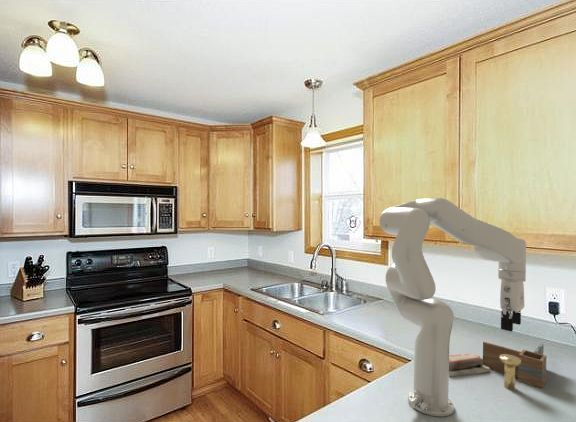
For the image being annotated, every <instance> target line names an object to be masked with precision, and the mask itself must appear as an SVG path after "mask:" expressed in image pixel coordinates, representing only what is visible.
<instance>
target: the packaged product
mask: <svg viewBox="0 0 576 422" xmlns="http://www.w3.org/2000/svg"><path fill="white" fill-rule="evenodd" d="M490 371H491V368H489V367H486V366H484V365H483V357H481V356H480V355H478V354H475V353H470V352H469V353H468V352H467V353H457V354H449V378H450V377H451V378H452V377H457V376H458V377H459V376H468V375H474V374H476V375H477V374H482V373H488V372H490Z"/></svg>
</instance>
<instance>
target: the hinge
mask: <svg viewBox="0 0 576 422" xmlns="http://www.w3.org/2000/svg"><path fill="white" fill-rule="evenodd" d="M501 354H508V355H513V356H516V357H518V358H520V359H521V365H520V366H515V378H517V380H518V382H520V383H521V382H522V383H524V384H528V385H529V386H533V387H537V388H539V389H543V388H544V386H545V384H546V383H547V358H548V357H547V355H545V354H544V343H540V344H539V345H538V347H537V348H536V349H535V350H534V351H529V350H526V349H523V350H521V351H520V350H516V349H513V348H508V347H505V346H501V345H498V344H494V343H490V342H487V341H483V342H482V359H483V365H484V366H486V367H489V368H490V370H495V371H498V372H500V373H503V374H504V370H505V363H503V362H501V361H500V360H499V356H500V355H501Z"/></svg>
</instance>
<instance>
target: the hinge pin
mask: <svg viewBox="0 0 576 422" xmlns="http://www.w3.org/2000/svg"><path fill="white" fill-rule="evenodd" d="M499 360H500V361H501V362H503V363H505V370H504V373H503V375H504V377H503V378H504V379H503V382H504V384H503V387H504V388H505V389H507V390H510V391H514V390H516V376H515V366H520V365H521V359H520V358H518V357H516V356H513V355H508V354H501V355H500V356H499Z"/></svg>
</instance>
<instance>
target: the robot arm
mask: <svg viewBox="0 0 576 422" xmlns="http://www.w3.org/2000/svg"><path fill="white" fill-rule="evenodd" d="M378 221H379V227H380V228H381V230H382V231H383V232H384V233H385V234H387V235H391V236H396V237H395V239H394V243H393V245H392V248H391V259H392V262H393V264H392V265H391V266H389V267H388V269H387V270H386V273H385V285H386V288H387V290H388V292H389V295H390V297H391V299H392V301H393V303H394V305H395V307H396V310H397V311H398V313H399V315H400V316H401V317H402V318H403V319H404V320H406V321H408V322H410V323H412V324H415V325H416V326H418V327H420V328H419V329H420V330H419V331H418V334H417V335H416V337H415V340H414V354H413V355H414V360H413V361H414V363H413V365H414V366H413V390H412V391H409V393H408V395H407V396H408V397H407V400H408V405H409V407H410V408H412V409H415V410H417V411H418V412H420V413H423V414H425V415H427V416H434V417H441V418H442V417H448V416H450V415H452V414H453V413H454V411H455V406H454V403H453V401H452V400H451V399H450V398H449V379H450V377H449V355H450V341H451V334H452V330H453V326H454V320H455V314H454V311H453V310H452V308H451V306H450V305H449V304H447V303H446V302H444V301H443V300H440V299H438V298H435V297H433V296H434V295H435V293H436V283H435V280H434V277H433V276H432V273H431V271H430V267H429V266H428V264H427V261H426V259H425V256H424V253H423V243H424V240H425V237H426V236H427V233H428V231H429V229H430V226H433V227H436V228H437V229H439V230H440V231H442V232H444V233H445V234H447V235H448V236H450V237H452V239H454V240H456V241H458V242H460V243H463V244H467V245H469V246H473V247H474V253H475V254H476V256H478V257H479V258H481V259H483V260H487V261H492V262H498V269H497V270H498V275H497V276H498V280H501V281H500V295H499V296H500V297H499V298H500V299H499V304H500V306H499V308H500V309H501V311H500V312H501V313H500V330H503V331H506V332H507V331H508V332H513V331H514V324H515V325H521V323H522V322H521V321H522V313H521V311H522V310H523V309H524V308H525V288H524V285H525V284H524V282H526V279H527V277H526V276H527V275H526V271H527V270H526V267H527V242H526V240H525V239H523V238H519V237H516V236H515V235H513V234H512V233H510V232H509V231H507V230H505V229H502V228H501V227H498V226H496V225H494V224H490V223H488V222H486V221H483V220H480V219H477V218H475V217H473V216H472V215H471V214H469V213H467V212H465V210H463V209H461V207H459V206H458V205H456V204H455V203H453V202H451V201H450V200H448V199H446V198H443V197H427V198H417V199H413V200H411V201H408V202H404V203H401V204H398V205H393V206H390V207H389V208H386V209H385V210H383V211H382V212H381V214H380V217H379V220H378Z"/></svg>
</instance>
